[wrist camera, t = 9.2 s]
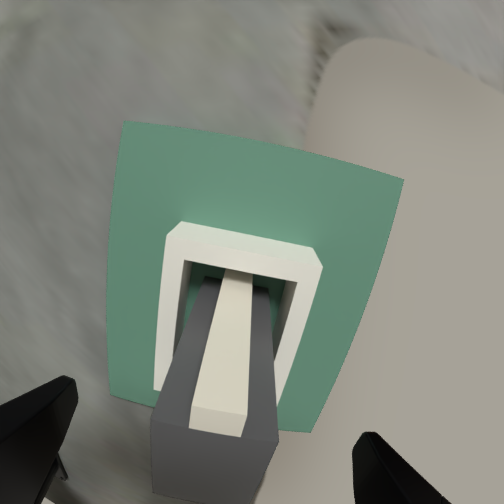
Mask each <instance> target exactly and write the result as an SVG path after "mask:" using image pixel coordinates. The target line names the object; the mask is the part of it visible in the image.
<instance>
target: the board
mask: <svg viewBox="0 0 504 504" xmlns="http://www.w3.org/2000/svg"><path fill="white" fill-rule="evenodd" d="M403 182H404V179H401V178H398V177H395V176H391V175H389V174H385V173H382V172H379V171H376V170H372V169H369V168H366V167H362V166H359V165H355V164H352V163H348V162H344V161H341V160H337V159H334V158H330V157H326V156H322V155H318V154H314V153H310V152H306V151H302V150H298V149H293V148H289V147H285V146H280V145H276V144H271V143H266V142H262V141H257V140H252V139H247V138H241V137H236V136H231V135H225V134H219V133H213V132H207V131H201V130H195V129H188V128H181V127H174V126H166V125H159V124H150V123H141V122H132V121H124V122H123V128H122V133H121V139H120V145H119V151H118V158H117V165H116V172H115V179H114V187H113V196H112V206H111V216H110V228H109V242H108V260H107V291H106V324H107V355H108V372H109V386H110V395H113V396H116V397H119V398H122V399H126V400H129V401H132V402H136V403H140V404H143V405H147V406H151V407H155V405H156V402H157V400H158V397H159V394H160V391H161V389H162V386H163V383H164V381H165V378H166V375H167V373H168V370H169V367H170V365H171V362H172V359H173V357H174V354H175V351H176V349H177V346H178V344H179V341H180V338H181V336H182V333H183V331H184V328H185V325H186V323H187V320H188V318H189V315H190V313H191V310H192V308H193V305H194V302H195V300H196V297H197V295H198V292H199V290H200V287H201V285H202V282H203V280H204V277H205V276H208V277H213V278H218V279H223V277H224V274H225V270H226V268H228V269H233V270H238V271H243V272H248V273H253V281H252V285H254V286H259V287H265V288H268V289H269V302H270V316H271V329H272V343H273V358H274V373H275V388H276V403H277V419H278V430H284V431H295V432H308V433H311V431H312V429H313V427H314V425H315V423H316V421H317V419H318V417H319V415H320V413H321V411H322V409H323V406H324V404H325V402H326V400H327V398H328V396H329V394H330V392H331V389H332V387H333V385H334V383H335V381H336V378H337V376H338V374H339V372H340V369H341V367H342V365H343V362H344V360H345V357H346V355H347V353H348V350H349V348H350V346H351V343H352V341H353V338H354V336H355V333H356V331H357V328H358V325H359V323H360V320H361V318H362V315H363V312H364V310H365V307H366V304H367V301H368V299H369V296H370V293H371V290H372V287H373V284H374V281H375V279H376V275H377V273H378V270H379V267H380V263H381V260H382V257H383V254H384V250H385V247H386V244H387V241H388V238H389V234H390V231H391V227H392V224H393V220H394V217H395V213H396V209H397V206H398V202H399V198H400V194H401V190H402V186H403Z"/></svg>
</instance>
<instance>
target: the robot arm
mask: <svg viewBox="0 0 504 504" xmlns="http://www.w3.org/2000/svg"><path fill="white" fill-rule="evenodd" d="M77 404H78V392H77V387H76V382H75V380H74V379H73V378H70V377H68V376H65V375H62V376H60V377H58V378H56V379H54V380H52V381H50V382H48V383H46V384H44V385H41V386H39V387H37V388H35V389H33V390H31V391H29V392H27V393H25V394H23V395H21V396H19V397H17V398H15V399H13V400H11V401H8V402H6V403H4V404H2V405H0V504H41V503H42V501H43V499H44V497H45V495H46V493H47V491H48V488H49V486H50V484H51V482H52V480H53V478H54V476H55V477H57V478H59V479H61V480H64V481H66V479H67V476H66V474H65V471H64V469H63V467H62V464H61V462H60V459H59V457H58V454H57V453H58V451H59V449H60V447H61V445H62V443H63V441H64V438H65V436H66V433H67V430H68V428H69V425H70V422H71V419H72V417H73V414H74V412H75V409H76V406H77ZM352 461H353V488H354V498H355V504H451V503H450V502H449V501H448V500H447V499H446V498H445V497H444V496H442V495H441V494H440V493H439V492H438V491H437V490H436V489H435V488H434V487H433V486H432V485H431V484H429V483H428V482H427V481H426V480H425V479H424V478H423V477H422V476H421V475H420V474H419V473H418V472H417V471H416V470H415V469H414V468H413V467H412V466H410V465H409V464H408V463H407V462H406V461H405V460H404V459H403V458H402V457H401V456H400V455H399V454H398V453H397V452H396V451H395V450H394V449H393V448H392V447H391V446H390V445H389V444H388V443H387V442H386V441H385V440H384V439H383V438H382V437H381V436H380V435H379V434H378V433H376V432H364V433H362V435H361V437H360V438H359V439H358V441H357V442H356V444H355V445H354V447H353V451H352Z"/></svg>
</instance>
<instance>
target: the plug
mask: <svg viewBox="0 0 504 504" xmlns="http://www.w3.org/2000/svg"><path fill="white" fill-rule="evenodd" d="M252 281H253V273H248V272H243V271H238V270H233V269H228V268H226V270H225V274H224V277H223V279H218V278H213V277H208V276H205V277H204V280H203V282H202V285H201V287H200V290H199V292H198V295H197V297H196V300H195V302H194V305H193V308H192V310H191V313H190V315H189V318H188V320H187V323H186V325H185V328H184V331H183V333H182V336H181V338H180V341H179V344H178V346H177V349H176V351H175V354H174V357H173V359H172V362H171V365H170V367H169V370H168V373H167V375H166V378H165V381H164V383H163V386H162V389H161V391H160V394H159V397H158V400H157V402H156V405H155V408H154V411H153V414H152V416H151V468H152V488H153V493H155V494H159V495H163V496H168V497H172V498H177V499H181V500H186V501H192V502H197V503H203V504H250V502H251V500H252V498H253V496H254V494H255V492H256V490H257V488H258V486H259V484H260V482H261V479H262V477H263V475H264V473H265V471H266V469H267V467H268V465H269V463H270V460H271V458H272V456H273V454H274V451H275V449H276V447H277V445H278V442H279V435H278V419H277V403H276V388H275V373H274V358H273V343H272V329H271V316H270V302H269V289H268V288H265V287H259V286H254V285H252Z"/></svg>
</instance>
